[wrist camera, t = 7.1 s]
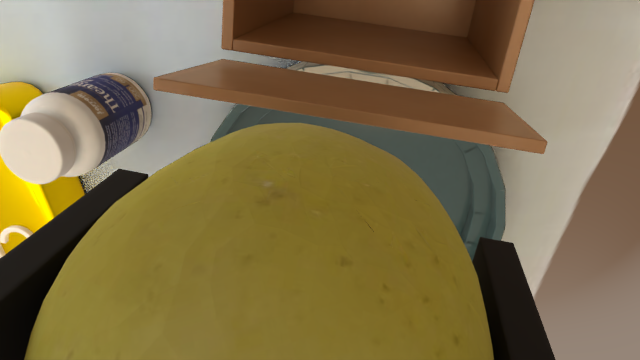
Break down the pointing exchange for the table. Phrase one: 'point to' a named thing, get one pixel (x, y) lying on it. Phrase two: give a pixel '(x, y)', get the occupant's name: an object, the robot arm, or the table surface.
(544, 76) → the table surface
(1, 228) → the element tile
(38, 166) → the pill bottle
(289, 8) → the carton
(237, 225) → the apple
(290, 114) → the bowl
